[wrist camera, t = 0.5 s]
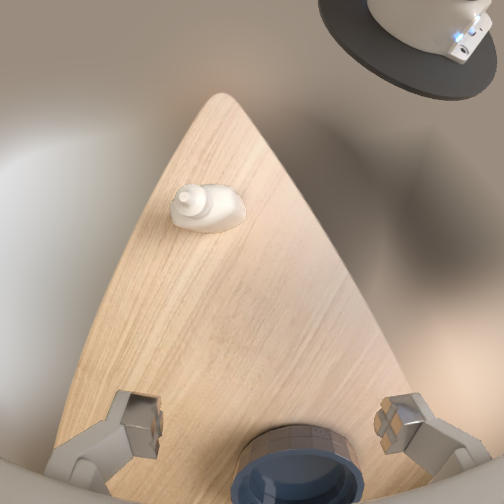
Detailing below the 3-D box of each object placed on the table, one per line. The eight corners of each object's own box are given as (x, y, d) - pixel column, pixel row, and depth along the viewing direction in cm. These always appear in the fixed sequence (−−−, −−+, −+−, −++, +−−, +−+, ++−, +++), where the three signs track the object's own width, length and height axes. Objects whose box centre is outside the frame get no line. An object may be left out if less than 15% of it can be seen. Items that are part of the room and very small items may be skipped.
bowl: (315, 400, 32) (320, 425, 27) (375, 472, 31) (384, 497, 26) (213, 456, 33) (203, 482, 28) (281, 517, 32) (279, 544, 27)
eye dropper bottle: (200, 189, 33) (157, 158, 21) (251, 202, 33) (232, 175, 21) (188, 229, 33) (139, 218, 21) (239, 243, 33) (214, 239, 21)
